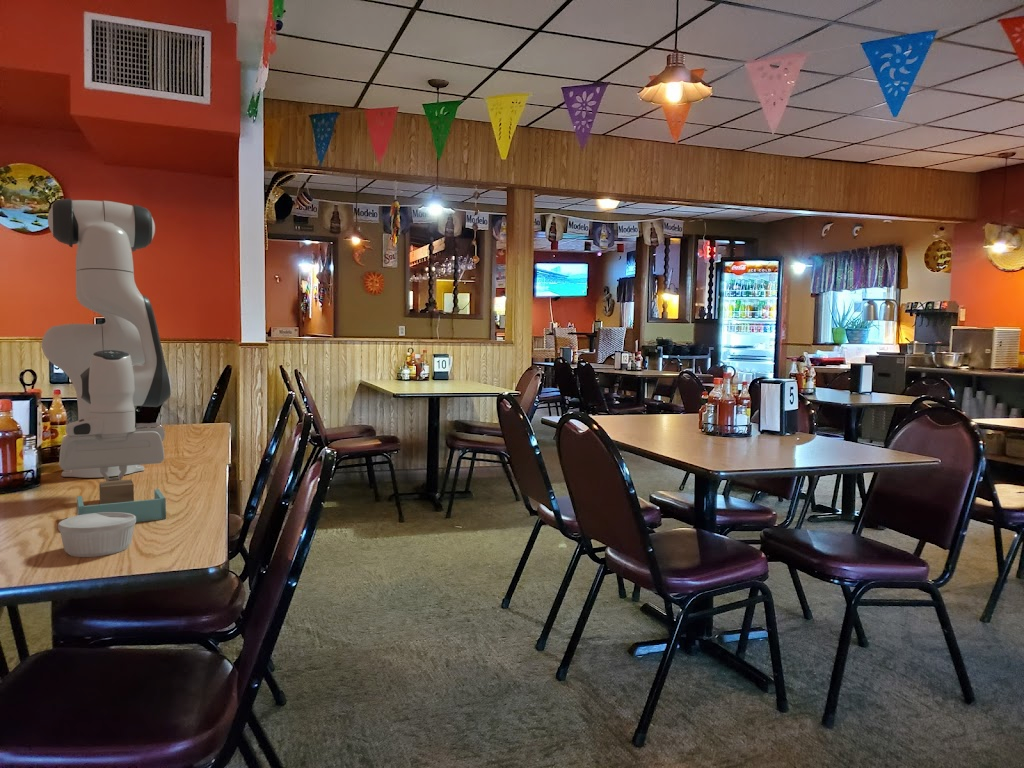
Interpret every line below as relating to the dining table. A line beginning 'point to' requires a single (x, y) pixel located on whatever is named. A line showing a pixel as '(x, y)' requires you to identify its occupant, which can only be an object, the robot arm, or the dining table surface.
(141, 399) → the robot arm
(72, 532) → the ramekin
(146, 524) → the dining table surface
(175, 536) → the dining table surface
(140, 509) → the box
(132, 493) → the walnut tile block
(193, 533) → the dining table surface
